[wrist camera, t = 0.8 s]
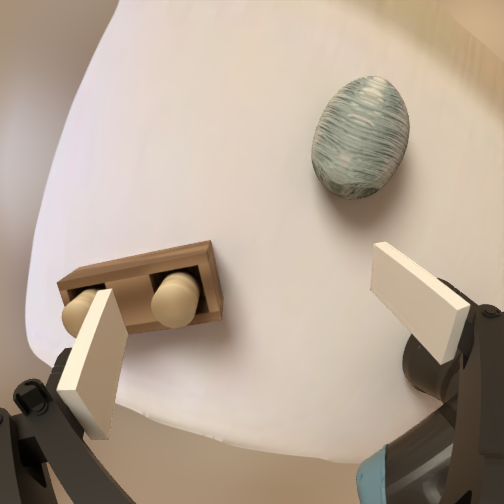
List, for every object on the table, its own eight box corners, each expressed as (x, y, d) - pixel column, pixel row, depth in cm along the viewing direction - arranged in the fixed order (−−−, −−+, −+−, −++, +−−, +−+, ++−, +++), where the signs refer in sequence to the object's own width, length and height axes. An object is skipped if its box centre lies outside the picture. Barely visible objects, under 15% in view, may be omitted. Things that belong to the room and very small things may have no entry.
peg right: (204, 303, 33) (200, 324, 28) (168, 309, 33) (158, 331, 28) (195, 266, 32) (189, 282, 27) (158, 273, 32) (145, 290, 27)
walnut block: (223, 297, 37) (221, 319, 32) (96, 318, 37) (77, 340, 31) (210, 240, 36) (205, 252, 30) (79, 267, 35) (56, 282, 30)
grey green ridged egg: (373, 227, 33) (387, 191, 24) (297, 191, 36) (284, 146, 27) (412, 134, 34) (429, 82, 25) (344, 105, 37) (342, 51, 28)
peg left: (117, 317, 32) (102, 338, 28) (88, 321, 32) (70, 341, 28) (106, 283, 32) (88, 300, 27) (77, 289, 31) (56, 305, 27)
